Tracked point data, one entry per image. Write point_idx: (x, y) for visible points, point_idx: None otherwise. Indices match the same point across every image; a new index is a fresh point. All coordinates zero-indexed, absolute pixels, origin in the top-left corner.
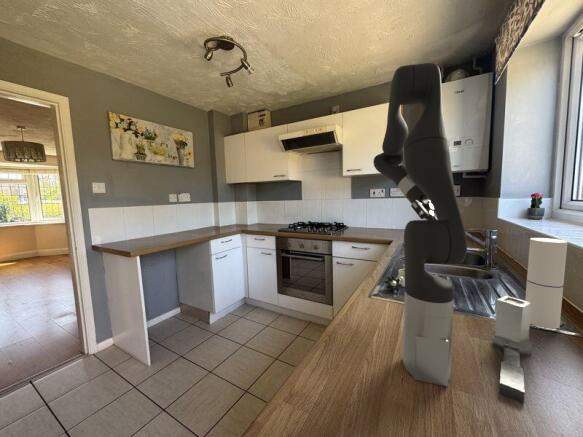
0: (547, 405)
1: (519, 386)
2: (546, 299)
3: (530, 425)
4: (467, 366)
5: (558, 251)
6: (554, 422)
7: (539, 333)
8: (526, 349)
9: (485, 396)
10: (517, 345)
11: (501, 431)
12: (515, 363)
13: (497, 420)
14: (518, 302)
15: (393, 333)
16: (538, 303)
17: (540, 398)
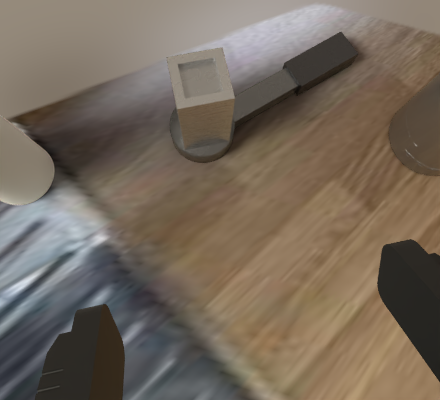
0: (304, 32)
1: (335, 40)
2: (6, 121)
3: (363, 21)
4: (345, 119)
5: None
6: (327, 15)
7: (79, 148)
8: None
9: (377, 66)
10: None
11: (408, 26)
12: (276, 79)
13: (398, 37)
14: (183, 79)
15: None
16: (22, 142)
17: (300, 42)
